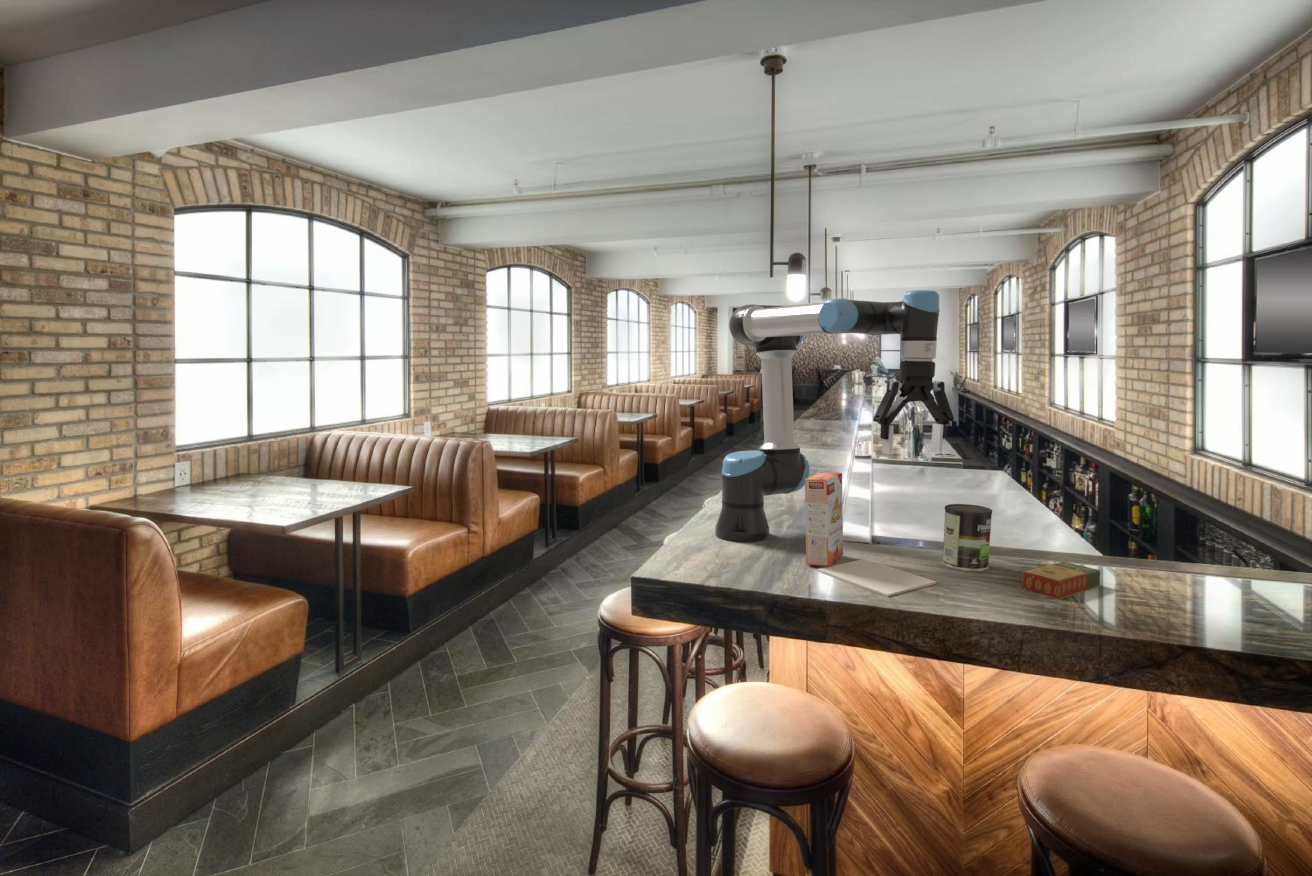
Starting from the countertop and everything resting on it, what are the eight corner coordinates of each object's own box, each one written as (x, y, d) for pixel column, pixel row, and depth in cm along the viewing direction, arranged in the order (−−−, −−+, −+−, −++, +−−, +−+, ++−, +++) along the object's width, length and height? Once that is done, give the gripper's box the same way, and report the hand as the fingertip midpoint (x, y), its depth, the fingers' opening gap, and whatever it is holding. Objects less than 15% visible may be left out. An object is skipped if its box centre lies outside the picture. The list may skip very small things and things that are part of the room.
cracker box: (830, 567, 156) (828, 479, 155) (805, 565, 159) (802, 478, 158) (845, 553, 169) (843, 471, 167) (821, 552, 171) (819, 471, 170)
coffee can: (996, 566, 160) (999, 508, 159) (977, 574, 153) (981, 514, 152) (953, 556, 168) (956, 501, 166) (934, 564, 161) (936, 507, 160)
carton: (1020, 589, 145) (1021, 570, 144) (1061, 577, 153) (1062, 559, 153) (1060, 600, 138) (1061, 580, 137) (1100, 587, 146) (1101, 568, 145)
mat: (817, 571, 156) (817, 569, 156) (864, 560, 164) (864, 558, 164) (887, 596, 139) (887, 594, 139) (936, 583, 147) (936, 581, 147)
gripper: (881, 359, 144) (875, 456, 147) (974, 361, 152) (967, 453, 154) (860, 359, 151) (855, 451, 154) (950, 360, 159) (944, 448, 162)
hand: (911, 452), depth 154 cm, fingers open, 13 cm apart
